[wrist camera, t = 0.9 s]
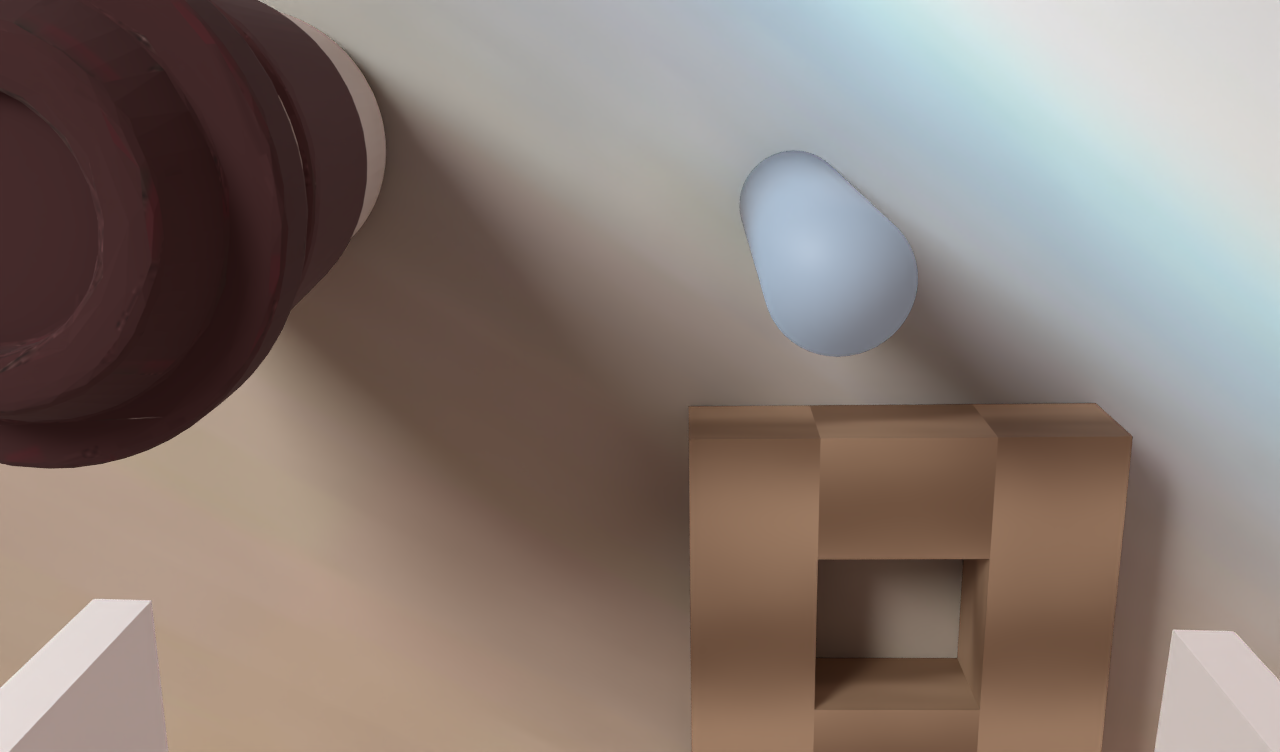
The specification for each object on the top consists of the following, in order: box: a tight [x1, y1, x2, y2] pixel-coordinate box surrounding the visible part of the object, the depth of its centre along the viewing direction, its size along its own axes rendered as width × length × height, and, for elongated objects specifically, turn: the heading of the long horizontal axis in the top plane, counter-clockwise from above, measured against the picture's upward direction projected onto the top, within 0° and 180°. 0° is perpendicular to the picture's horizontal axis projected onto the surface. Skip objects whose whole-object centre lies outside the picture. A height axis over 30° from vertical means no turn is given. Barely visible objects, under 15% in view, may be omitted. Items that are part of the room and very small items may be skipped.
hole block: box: [689, 403, 1133, 752], centre depth 36 cm, size 12×12×3 cm
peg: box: [740, 151, 918, 357], centre depth 29 cm, size 3×3×11 cm
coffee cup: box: [0, 0, 386, 468], centre depth 27 cm, size 10×10×15 cm
